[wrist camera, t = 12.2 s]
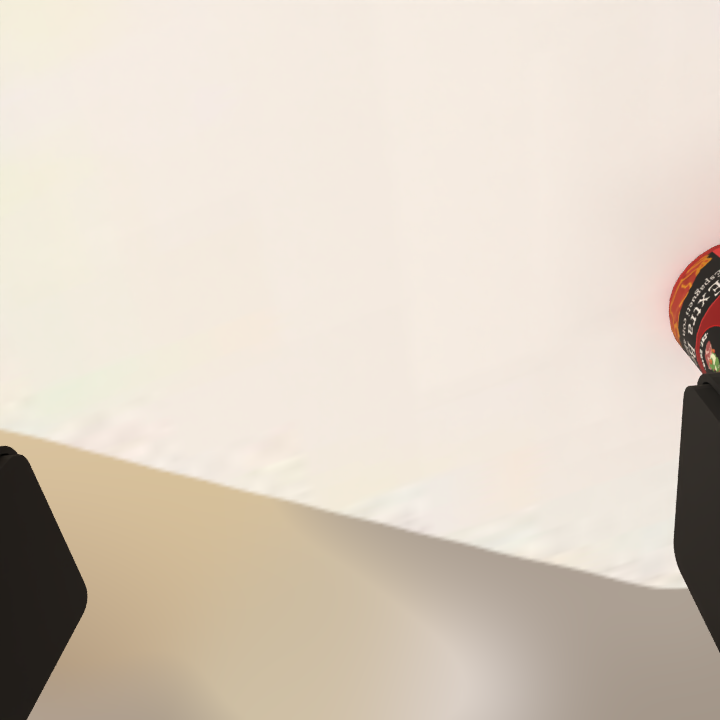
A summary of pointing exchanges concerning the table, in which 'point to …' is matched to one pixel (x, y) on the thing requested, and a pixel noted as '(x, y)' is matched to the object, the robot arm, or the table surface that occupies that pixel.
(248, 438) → the table surface
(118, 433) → the table surface
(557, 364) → the table surface
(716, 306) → the canned food
